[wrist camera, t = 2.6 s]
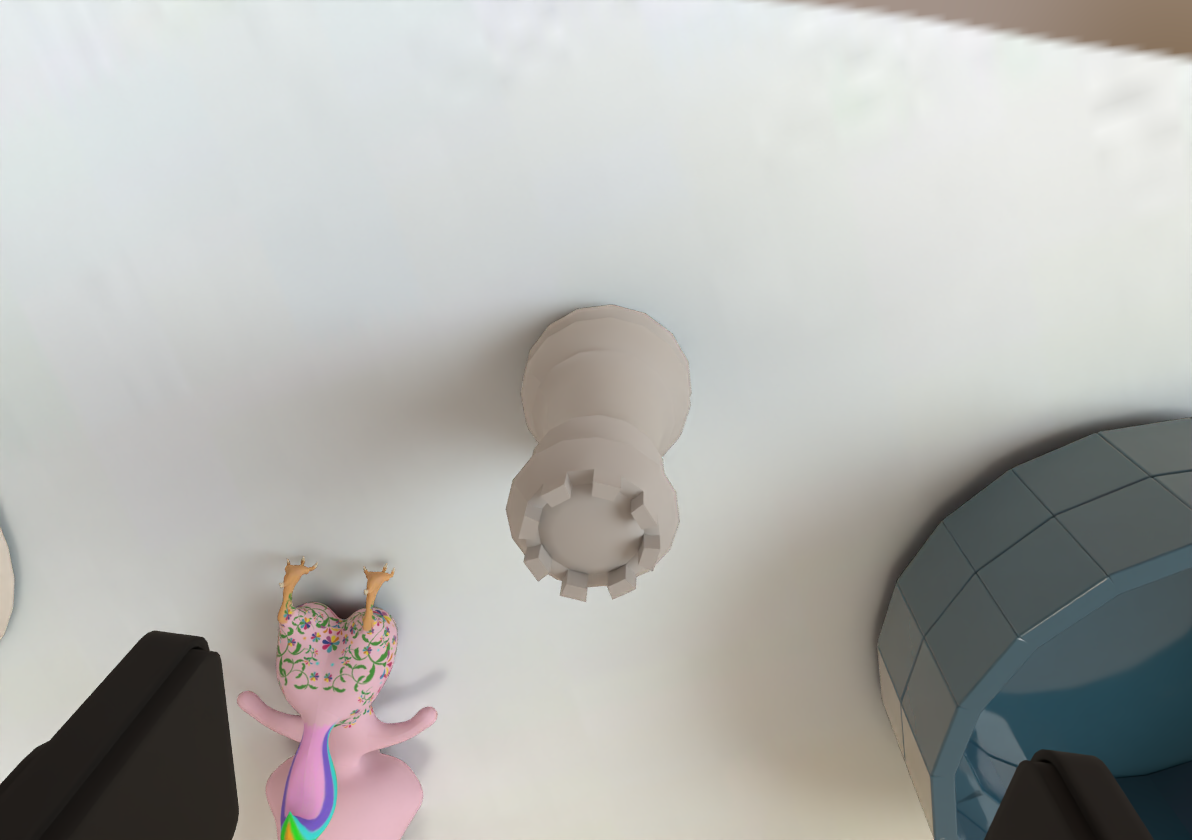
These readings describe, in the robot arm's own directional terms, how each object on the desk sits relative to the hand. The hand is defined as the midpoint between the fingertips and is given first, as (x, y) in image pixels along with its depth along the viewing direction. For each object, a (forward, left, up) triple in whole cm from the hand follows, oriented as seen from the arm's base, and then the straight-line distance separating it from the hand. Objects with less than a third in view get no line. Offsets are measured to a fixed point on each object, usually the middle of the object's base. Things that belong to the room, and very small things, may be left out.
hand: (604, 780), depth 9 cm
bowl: (+15, -6, -13) cm, 21 cm away
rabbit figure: (-8, -14, -13) cm, 21 cm away
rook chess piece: (-1, 0, -13) cm, 13 cm away
